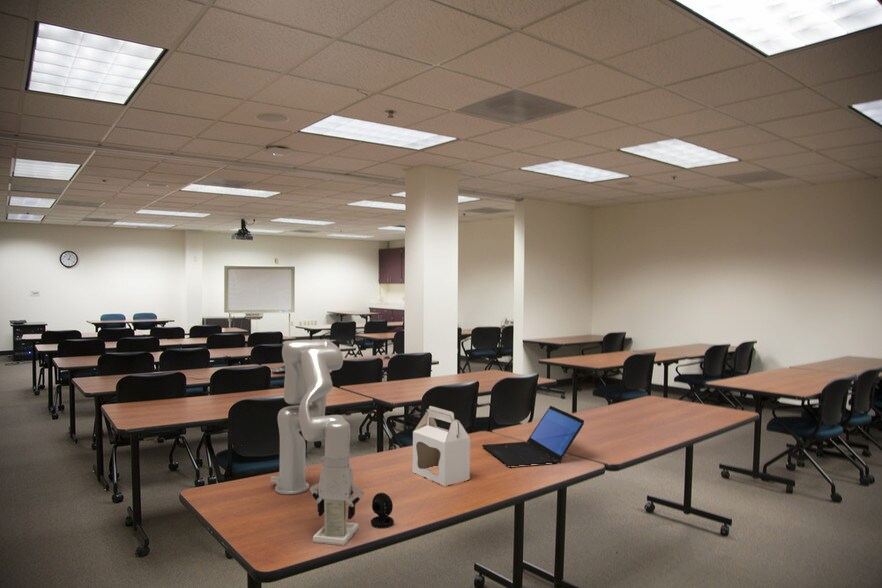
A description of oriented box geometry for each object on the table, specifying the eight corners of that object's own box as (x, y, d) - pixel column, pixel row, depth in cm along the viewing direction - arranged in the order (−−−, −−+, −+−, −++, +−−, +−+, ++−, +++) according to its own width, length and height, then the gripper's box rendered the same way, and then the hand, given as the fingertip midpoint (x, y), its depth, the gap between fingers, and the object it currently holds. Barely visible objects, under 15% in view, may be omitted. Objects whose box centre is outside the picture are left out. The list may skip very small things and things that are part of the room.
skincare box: (346, 530, 175) (347, 491, 175) (344, 536, 170) (345, 496, 170) (326, 530, 175) (326, 491, 175) (323, 536, 170) (324, 496, 170)
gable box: (411, 472, 233) (412, 406, 233) (436, 466, 242) (437, 402, 242) (444, 487, 216) (445, 415, 216) (470, 480, 224) (471, 411, 224)
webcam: (365, 524, 181) (365, 493, 181) (380, 517, 187) (380, 487, 187) (384, 530, 176) (384, 499, 176) (398, 522, 183) (399, 492, 183)
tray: (312, 542, 167) (313, 536, 167) (328, 526, 179) (329, 520, 179) (344, 546, 165) (344, 540, 165) (358, 529, 177) (358, 523, 177)
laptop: (481, 448, 272) (482, 408, 272) (550, 443, 283) (551, 405, 283) (508, 469, 240) (509, 424, 240) (585, 462, 251) (585, 420, 251)
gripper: (305, 462, 170) (304, 518, 171) (359, 467, 167) (358, 524, 167) (316, 455, 178) (315, 508, 178) (367, 460, 174) (366, 514, 174)
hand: (336, 516), depth 173 cm, fingers open, 9 cm apart
